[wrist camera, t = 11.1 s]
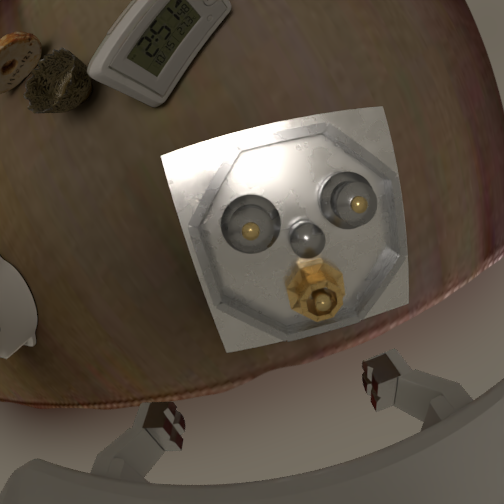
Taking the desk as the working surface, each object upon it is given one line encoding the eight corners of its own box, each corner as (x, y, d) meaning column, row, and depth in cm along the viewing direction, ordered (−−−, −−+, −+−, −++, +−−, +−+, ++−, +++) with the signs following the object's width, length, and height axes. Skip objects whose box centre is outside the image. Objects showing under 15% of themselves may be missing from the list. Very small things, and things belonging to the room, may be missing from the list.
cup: (115, 95, 25) (79, 79, 18) (71, 131, 26) (31, 127, 19) (97, 55, 23) (64, 35, 16) (56, 90, 24) (19, 80, 17)
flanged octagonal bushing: (292, 316, 32) (297, 335, 28) (281, 267, 30) (285, 282, 27) (343, 302, 32) (353, 319, 28) (336, 253, 30) (347, 265, 26)
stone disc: (49, 37, 21) (10, 19, 12) (54, 50, 22) (11, 32, 13) (7, 84, 23) (-34, 77, 13) (11, 98, 24) (-33, 93, 14)
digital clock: (156, 117, 27) (113, 96, 16) (108, 80, 25) (58, 55, 15) (254, 20, 23) (255, -32, 13) (199, -10, 21) (182, -59, 11)
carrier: (227, 347, 35) (224, 375, 30) (164, 156, 28) (145, 154, 22) (404, 299, 33) (424, 319, 28) (378, 108, 26) (402, 98, 21)
